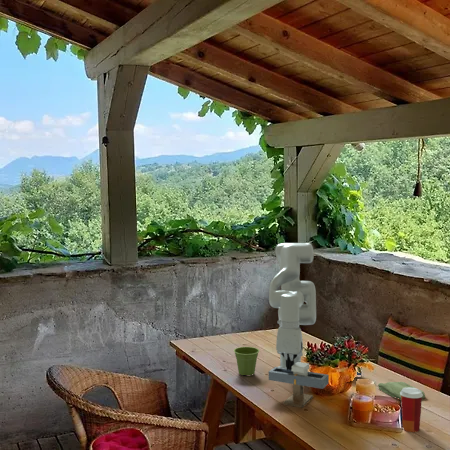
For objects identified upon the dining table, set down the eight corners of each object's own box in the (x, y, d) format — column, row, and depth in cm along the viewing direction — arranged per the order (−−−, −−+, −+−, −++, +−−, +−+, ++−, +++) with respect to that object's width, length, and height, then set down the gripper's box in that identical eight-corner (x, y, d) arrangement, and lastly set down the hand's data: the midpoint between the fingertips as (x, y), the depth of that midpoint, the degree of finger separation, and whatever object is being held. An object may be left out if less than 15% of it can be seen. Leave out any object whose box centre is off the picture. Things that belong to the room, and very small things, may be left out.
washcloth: (401, 385, 251) (401, 378, 250) (427, 399, 234) (427, 391, 234) (375, 388, 247) (375, 381, 246) (399, 403, 230) (399, 395, 230)
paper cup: (417, 424, 209) (418, 386, 208) (425, 433, 201) (426, 394, 200) (396, 424, 209) (396, 387, 208) (403, 434, 201) (404, 394, 200)
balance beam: (266, 401, 233) (266, 372, 232) (277, 391, 243) (277, 364, 242) (320, 411, 222) (320, 381, 221) (330, 400, 232) (330, 372, 232)
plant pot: (229, 376, 264) (229, 352, 263) (240, 368, 274) (240, 345, 273) (252, 380, 258) (252, 355, 258) (263, 372, 269) (263, 348, 268)
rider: (291, 377, 230) (291, 366, 229) (297, 373, 235) (297, 361, 235) (303, 379, 227) (303, 368, 227) (309, 374, 233) (309, 363, 233)
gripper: (268, 324, 232) (269, 369, 234) (303, 328, 225) (304, 374, 226) (276, 320, 239) (276, 364, 240) (310, 324, 232) (310, 369, 233)
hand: (289, 369), depth 233 cm, fingers closed
